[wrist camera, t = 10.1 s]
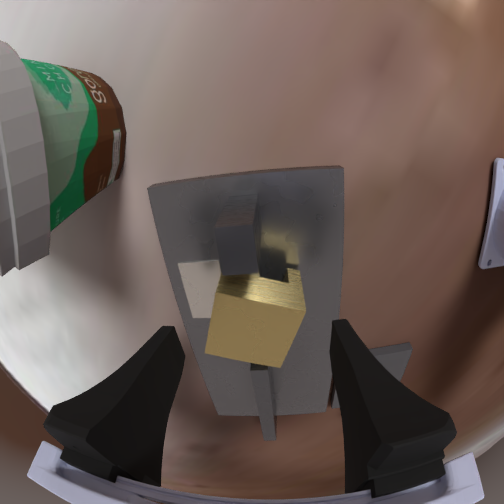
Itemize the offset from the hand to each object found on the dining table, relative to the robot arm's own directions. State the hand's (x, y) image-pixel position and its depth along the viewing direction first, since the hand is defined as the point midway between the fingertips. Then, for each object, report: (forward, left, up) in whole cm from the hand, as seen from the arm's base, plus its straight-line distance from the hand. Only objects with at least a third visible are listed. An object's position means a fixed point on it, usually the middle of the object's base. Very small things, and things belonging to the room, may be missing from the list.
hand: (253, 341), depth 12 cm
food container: (+9, -12, -5) cm, 16 cm away
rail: (0, +4, -5) cm, 6 cm away
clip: (0, 0, -4) cm, 4 cm away
